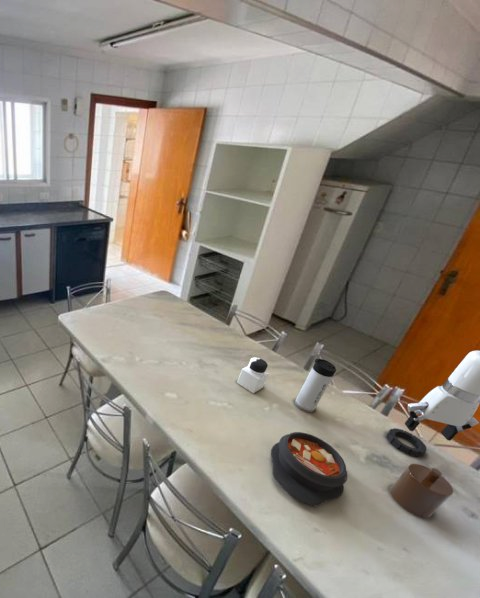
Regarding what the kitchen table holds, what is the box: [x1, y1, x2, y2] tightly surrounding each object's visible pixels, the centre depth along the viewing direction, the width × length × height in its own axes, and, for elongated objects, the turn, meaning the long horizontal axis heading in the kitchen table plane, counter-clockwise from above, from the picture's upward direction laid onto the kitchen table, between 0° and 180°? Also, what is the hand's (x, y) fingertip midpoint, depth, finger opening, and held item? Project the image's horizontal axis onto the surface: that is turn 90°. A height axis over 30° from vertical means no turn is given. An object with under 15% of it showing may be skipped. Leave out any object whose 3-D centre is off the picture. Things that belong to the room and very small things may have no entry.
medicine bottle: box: [236, 357, 270, 394], centre depth 127 cm, size 7×7×12 cm
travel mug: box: [294, 358, 337, 413], centre depth 117 cm, size 6×7×20 cm
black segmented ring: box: [385, 427, 427, 458], centre depth 108 cm, size 9×9×2 cm
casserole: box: [270, 431, 348, 507], centre depth 95 cm, size 25×19×8 cm
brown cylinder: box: [389, 463, 454, 519], centre depth 88 cm, size 9×9×13 cm
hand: (426, 432), depth 101 cm, fingers open, 9 cm apart
